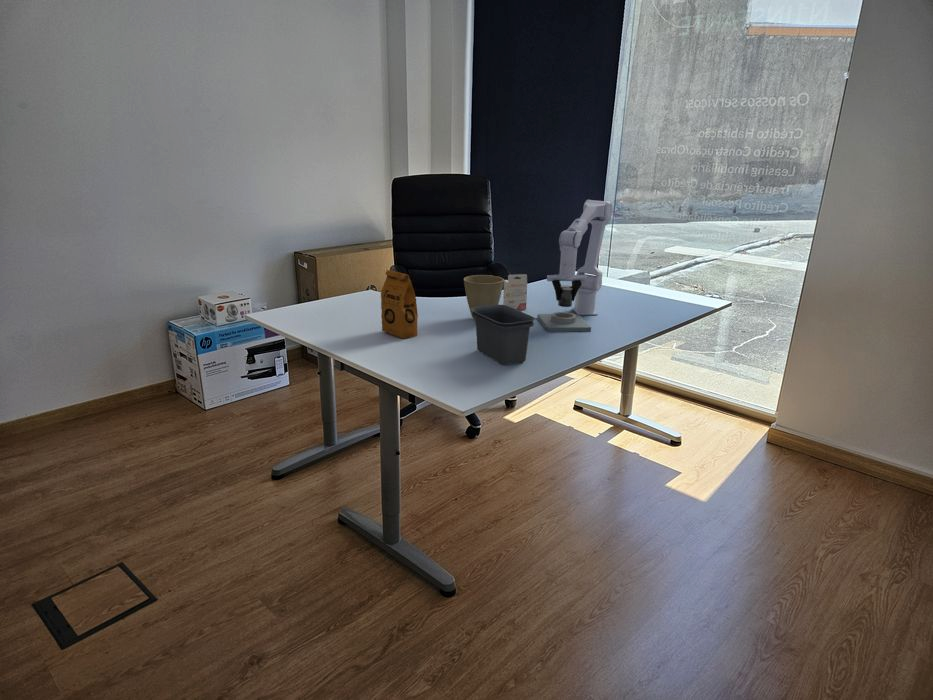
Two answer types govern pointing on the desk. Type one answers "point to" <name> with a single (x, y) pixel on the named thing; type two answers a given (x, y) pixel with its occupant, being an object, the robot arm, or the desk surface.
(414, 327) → the coffee package
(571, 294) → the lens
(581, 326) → the mount plate
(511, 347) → the storage bin
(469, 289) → the plant pot
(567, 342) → the desk surface
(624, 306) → the desk surface
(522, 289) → the ink cartridge box
